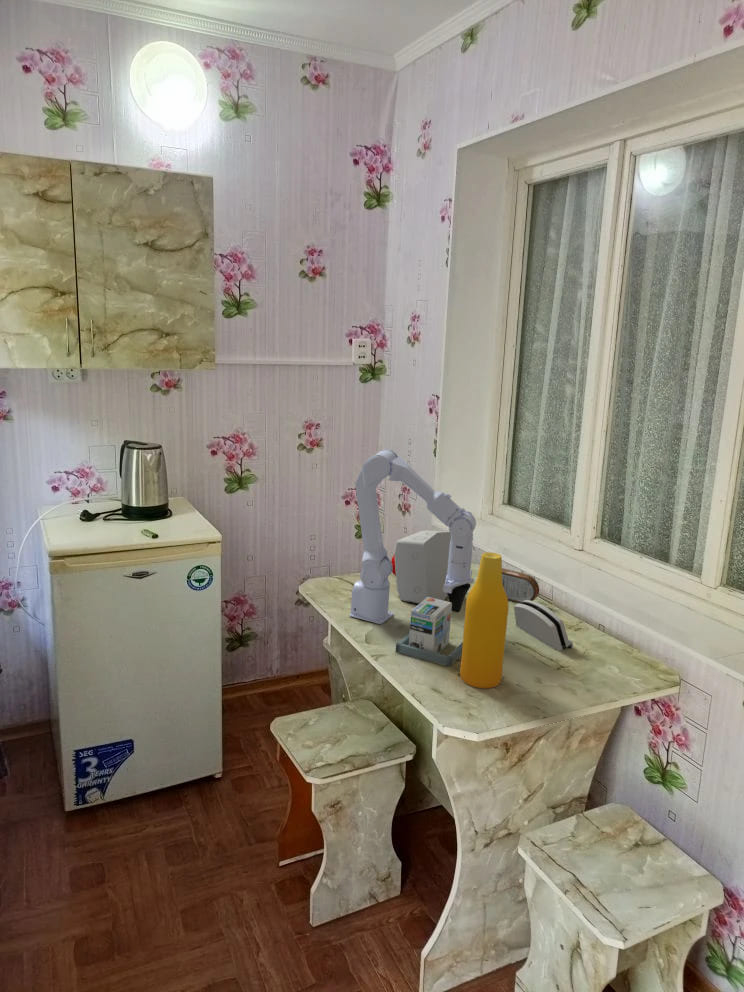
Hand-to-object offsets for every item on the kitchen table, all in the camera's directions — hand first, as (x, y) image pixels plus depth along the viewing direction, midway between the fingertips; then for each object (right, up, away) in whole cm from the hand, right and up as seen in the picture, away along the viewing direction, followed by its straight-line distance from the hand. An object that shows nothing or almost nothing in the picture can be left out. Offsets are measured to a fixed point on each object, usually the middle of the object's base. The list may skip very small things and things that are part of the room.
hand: (455, 610), depth 193 cm
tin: (+18, -1, +24) cm, 30 cm away
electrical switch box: (-8, +1, +24) cm, 25 cm away
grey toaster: (+21, -7, -1) cm, 22 cm away
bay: (-6, -7, -9) cm, 13 cm away
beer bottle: (+3, -12, -24) cm, 27 cm away
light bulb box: (-8, -8, -10) cm, 14 cm away
